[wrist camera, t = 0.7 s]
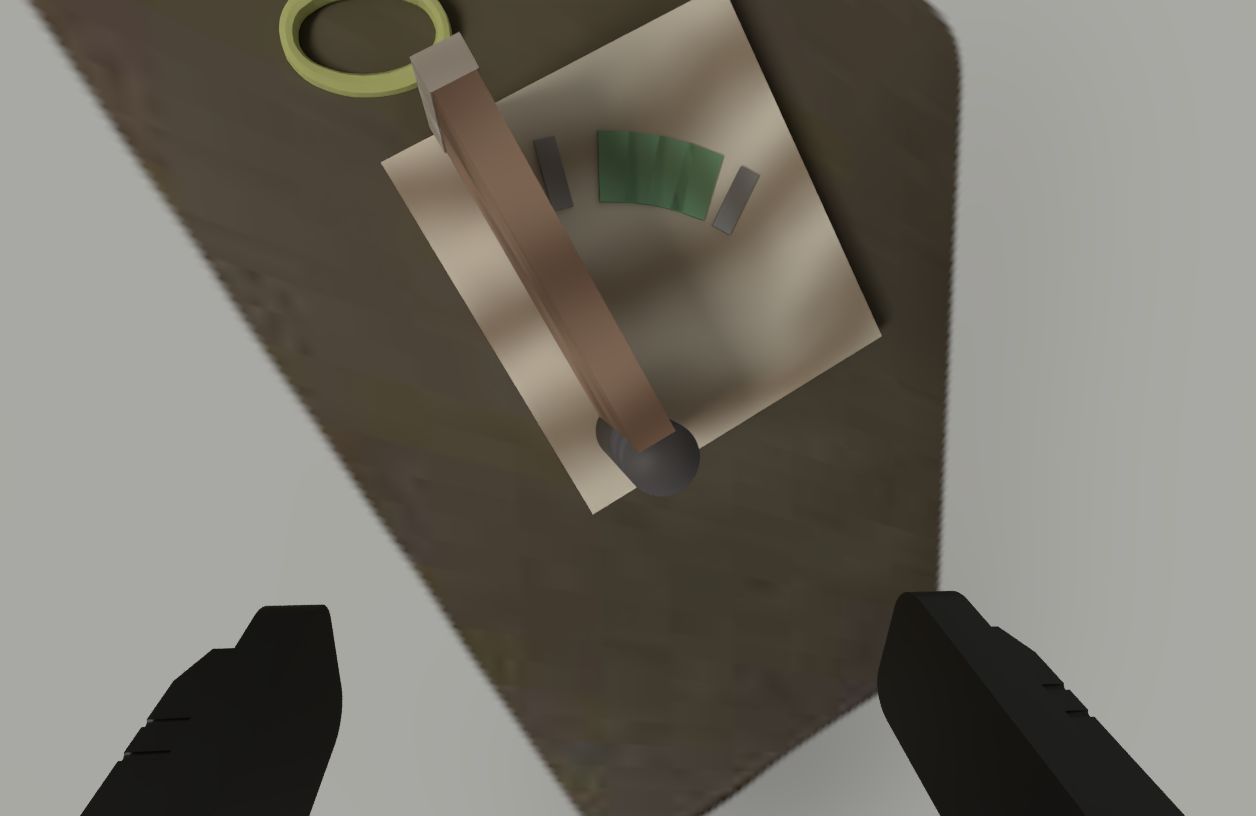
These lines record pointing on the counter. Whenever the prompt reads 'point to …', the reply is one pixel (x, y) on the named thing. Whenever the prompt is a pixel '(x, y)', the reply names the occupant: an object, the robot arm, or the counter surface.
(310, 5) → the key
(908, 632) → the robot arm
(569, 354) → the brown wood panel
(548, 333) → the beige flat square sheet
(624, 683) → the counter surface
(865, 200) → the counter surface
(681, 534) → the counter surface
